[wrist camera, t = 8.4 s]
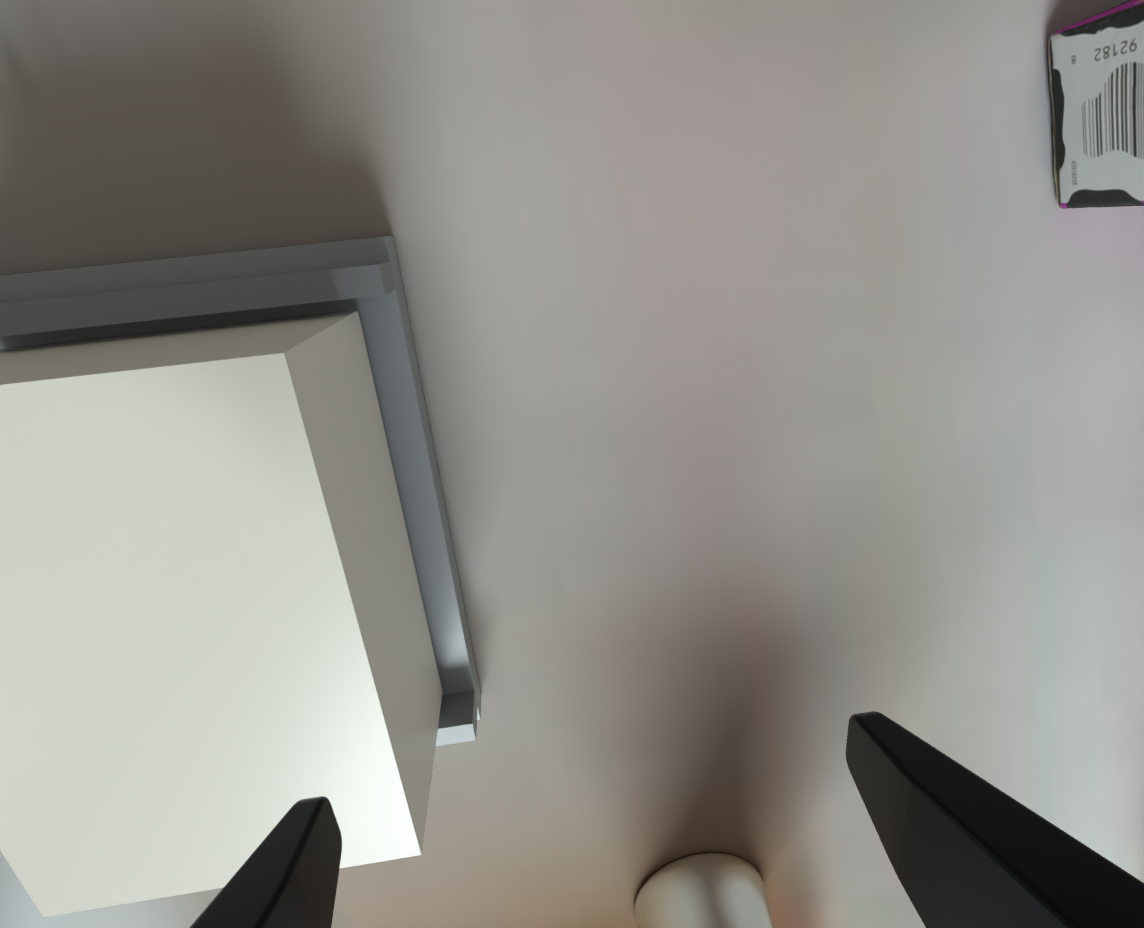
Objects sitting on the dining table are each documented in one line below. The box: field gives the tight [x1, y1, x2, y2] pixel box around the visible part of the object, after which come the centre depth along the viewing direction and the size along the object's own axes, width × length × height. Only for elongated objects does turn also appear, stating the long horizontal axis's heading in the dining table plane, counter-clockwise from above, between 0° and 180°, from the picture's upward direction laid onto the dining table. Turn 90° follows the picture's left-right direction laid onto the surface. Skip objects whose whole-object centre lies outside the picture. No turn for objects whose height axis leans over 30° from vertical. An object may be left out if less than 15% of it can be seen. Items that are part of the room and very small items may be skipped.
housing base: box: [0, 236, 481, 746], centre depth 17 cm, size 22×16×3 cm
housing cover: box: [0, 310, 443, 917], centre depth 15 cm, size 9×13×6 cm
